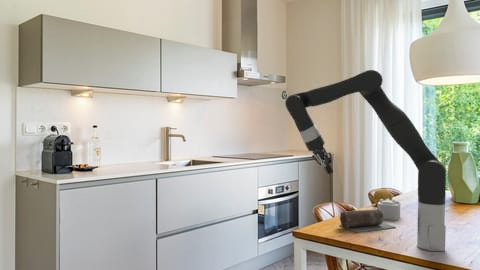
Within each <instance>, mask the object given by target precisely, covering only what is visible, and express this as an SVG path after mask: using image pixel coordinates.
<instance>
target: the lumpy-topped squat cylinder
mask: <svg viewBox="0 0 480 270" xmlns="http://www.w3.org/2000/svg"><path fill="white" fill-rule="evenodd" d="M377 209H378V210H381V211H382V213H383V219H385V220H391V221H398V220H399V219H400V218H401V202H400V201H399V200H396V199H393V198H392V200H391V201H390V200H389V199H386V200H385V201H384V200H383V199H380V200H379V202H378V206H377Z"/></svg>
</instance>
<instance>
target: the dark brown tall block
mask: <svg viewBox="0 0 480 270" xmlns="http://www.w3.org/2000/svg"><path fill="white" fill-rule="evenodd" d="M339 220H340V225H342V227H341V228H343V227H344V229H346V228H352V227H362V226H374V225H381V224H382V223H384V220H383V213H382V211H381V210H378V208H377V209H364V210H361V209H360V210H348V211H347V210H345V211H344V210H343V211H341V212H340V216H339Z"/></svg>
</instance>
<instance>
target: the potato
mask: <svg viewBox="0 0 480 270" xmlns="http://www.w3.org/2000/svg"><path fill="white" fill-rule="evenodd" d="M372 196H373V197H372V199H373V202H374V204H375V205H376V206H377V207H378V202H379V200H380V199H383V200H384V201H385V200H386V199H389V200H390V201H391V200H392V199H393V194H392V192H391V191H390V190H389V189H386V188H378V189H376V190H375V191H374V193H373V195H372Z"/></svg>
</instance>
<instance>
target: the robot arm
mask: <svg viewBox="0 0 480 270" xmlns="http://www.w3.org/2000/svg"><path fill="white" fill-rule="evenodd" d="M382 85H383V76H382V74H381V73H380V72H379V71H377V70H374V69H369V70H368V69H367V70H365V71H363V72H360V73H359V74H357V75H354V76H352V77H350V78H347V79H344V80H340V81H339V82H335V83H332V84H328V85H326V86H325V85H323V86H321V87H317V88H314V89H311V90H307V91H304V92H298V93H294V94H290V95H289V96H287V97H286V99H285V102H284V104H285V107H286V109H287V111H288V113H289V115H290V116H291V118H292V119H293V121H294V124H295V126H296V128H297V130H298V132H299V133H300V134H299V135H300V136H301V139H302V141H303V143H304V145H305V146H306V148H307V150H308V152H312V155H311V157H312V159H314V161H315V162H316V163H317V164H318V165H319V166H321V167H323V168H324V170H325V172H326V174H327V175H331V174H333V173H334V170H333V169H332V167H331V164H332V153H331V152H327V150H326V149H325V147H324V146H325V140H324V138H323V137H322V135H321V133H320V131H319V128H317V126H316V124H315V123H314V120H313V119H312V117H311V116H310V114H309V112H308V111H307V108H309V107H317V106H321V105H326V104H328V103H331V102H334V101H336V100H338V99H341V98H344V97H345V96H349V95H352V94H354V93H355V94H356V93H359V94H360V96H362V97H363V99H364V100H365V102H367V103H368V104H369V105H370V106H371V108H372V109H373V111H374V112H375V114H376V115H377V117H378V119H379V120H380V121H381V123H382V124H383V126H384V127H385V129H386V130H387V132H388V134H390V136H391V138H392V139H393V140H394V141H395V142H396V144H397V145H398V146H399V147H400V148H401V149H402V150H403V151H404V152H405V153H406V154H407V155H408V156H409V157H410V159H411V160H412V162H413V164H414V165H415V167H416V169H417V230H416V231H417V232H416V233H417V237H416V239H417V240H416V241H417V243H416V247H418V248H419V249H422V250H425V251H428V252H446V237H447V236H446V231H447V229H446V224H445V223H446V222H445V221H446V197H447V195H446V186H447V185H446V184H447V183H446V182H447V179H446V178H447V171H446V170H447V169H446V167H445V165H444V164H443V163H442V162H441V161H440V159H438V158H437V157H436V156H435V155H434V154H433V152H432V151H431V150H430V148H428V146H427V145H426V143H425V142H424V139H423V138H422V136H421V134H420V133H419V131H418V129H417V128H416V126H415V125H414V122H412V121H411V119H410V118H409V117H408V115H407V114H406V113H405V111H404V110H402V109H401V108H400V107H399V106H397V105H396V104H395V103H394V102H392V101H391V99H390V98H388V96H387V94H386V92H385V91H384V89H383V88H382Z"/></svg>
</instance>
